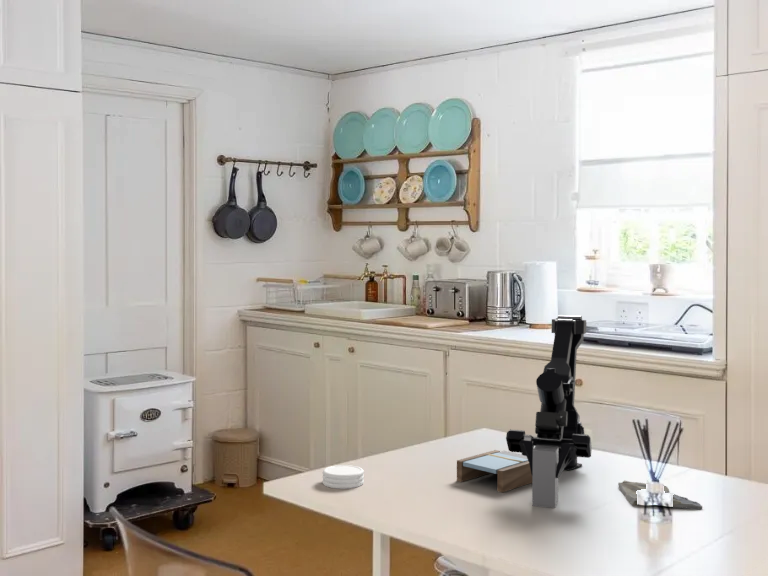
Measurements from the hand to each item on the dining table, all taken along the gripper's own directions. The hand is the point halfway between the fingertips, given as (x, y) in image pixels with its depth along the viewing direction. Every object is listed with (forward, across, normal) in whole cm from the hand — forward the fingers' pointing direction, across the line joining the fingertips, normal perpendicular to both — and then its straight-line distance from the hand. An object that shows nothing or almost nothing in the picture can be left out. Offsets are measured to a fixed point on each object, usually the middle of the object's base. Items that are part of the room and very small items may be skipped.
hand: (544, 476), depth 200 cm
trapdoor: (-9, -13, +15) cm, 22 cm away
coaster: (+3, -49, +7) cm, 49 cm away
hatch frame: (-8, -13, +17) cm, 23 cm away
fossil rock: (-5, +24, +15) cm, 28 cm away
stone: (+4, 0, +6) cm, 7 cm away
